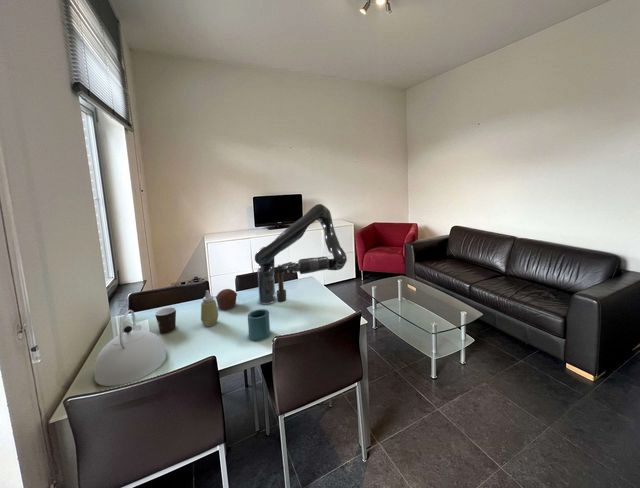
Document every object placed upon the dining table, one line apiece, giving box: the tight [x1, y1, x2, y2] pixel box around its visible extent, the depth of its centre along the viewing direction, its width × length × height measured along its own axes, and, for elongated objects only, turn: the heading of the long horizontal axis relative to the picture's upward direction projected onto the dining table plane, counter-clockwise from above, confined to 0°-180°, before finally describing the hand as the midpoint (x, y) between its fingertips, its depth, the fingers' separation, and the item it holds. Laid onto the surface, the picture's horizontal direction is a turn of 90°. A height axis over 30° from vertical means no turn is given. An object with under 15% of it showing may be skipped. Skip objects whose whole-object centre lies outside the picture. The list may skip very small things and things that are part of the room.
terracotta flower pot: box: [215, 288, 238, 311], centre depth 173 cm, size 12×11×10 cm
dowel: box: [275, 264, 287, 303], centre depth 148 cm, size 5×5×18 cm
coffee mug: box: [154, 306, 177, 335], centre depth 147 cm, size 12×9×10 cm
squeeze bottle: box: [200, 289, 219, 327], centre depth 153 cm, size 8×8×18 cm
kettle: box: [94, 309, 167, 387], centre depth 121 cm, size 25×23×22 cm
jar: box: [247, 308, 271, 342], centre depth 142 cm, size 9×9×11 cm
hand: (274, 270), depth 145 cm, fingers closed on dowel, 2 cm apart
